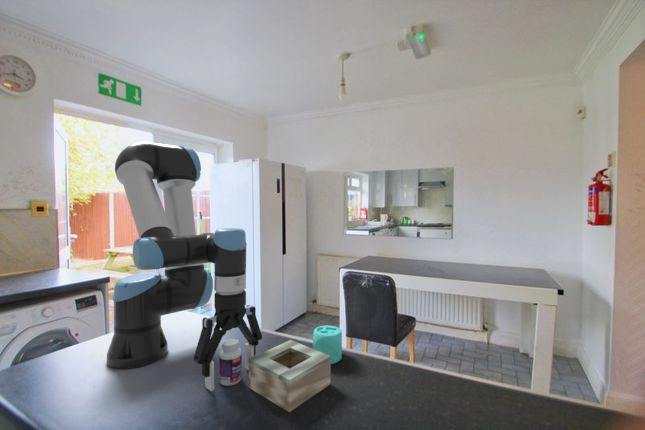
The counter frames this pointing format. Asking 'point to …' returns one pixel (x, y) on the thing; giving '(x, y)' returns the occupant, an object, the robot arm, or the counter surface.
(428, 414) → the counter surface
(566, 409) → the counter surface
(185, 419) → the counter surface
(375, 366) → the counter surface
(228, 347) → the pill bottle
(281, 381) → the grey hollow square block
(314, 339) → the engraved teal number block
